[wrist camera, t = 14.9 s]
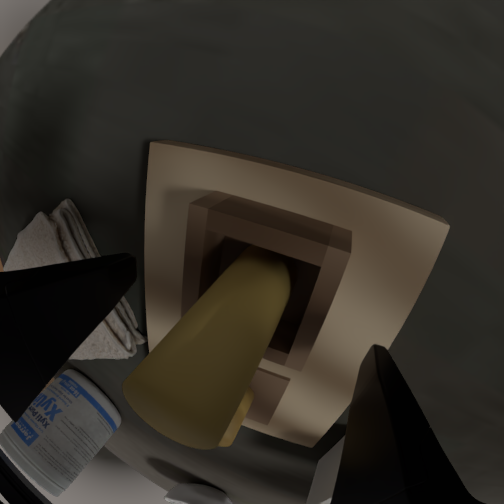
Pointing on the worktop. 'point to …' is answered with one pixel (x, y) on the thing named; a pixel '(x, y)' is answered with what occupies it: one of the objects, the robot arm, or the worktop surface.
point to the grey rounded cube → (326, 476)
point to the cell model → (196, 495)
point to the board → (307, 263)
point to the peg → (213, 351)
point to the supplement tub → (61, 431)
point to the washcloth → (71, 249)
